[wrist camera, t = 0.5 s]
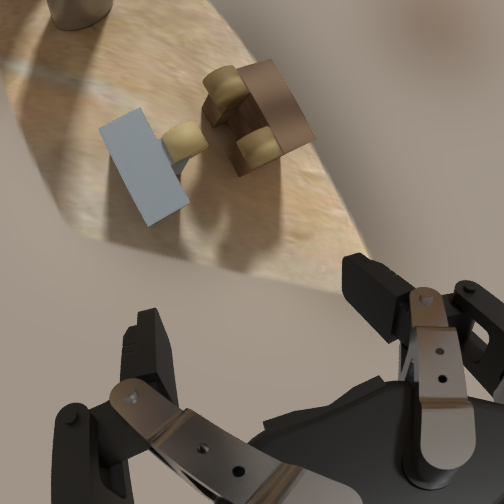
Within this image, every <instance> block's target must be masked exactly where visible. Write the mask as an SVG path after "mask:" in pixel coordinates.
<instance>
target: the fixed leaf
mask: <svg viewBox="0 0 504 504" xmlns="http://www.w3.org/2000/svg"><path fill="white" fill-rule="evenodd" d="M203 84H204V86H205V88H206V90H207V91H208V93H209V94H208V96H207V98H206V100H205V102H204V104H203V106H202V110H203V111H204V113H205V115H206V117H207V119H208V120H209V122H210V124H211V126H212V128H214V127H216V126H218V125H220V124H223V123H225V122H228V124H229V125H230V127H231V129H232V131H233V133H234V134H235V136H236V138H237V140H238V141H237V142H236V144H237V146H238V147H237V148H236V149H235V150H234V151H233V152H231V153H230V154H229V155H228V157H229V159H230V161H231V163H232V165H233V167H234V168H235V170H236V172H237V174H238V176H239V177H241V176H243V175H245V174H246V173H248V172H250V171H252V170H254V169H256V168H258V167H260V166H262V165H264V164H266V163H268V162H270V161H272V160H275V159H277V158H279V157H281V156H283V155H285V154H287V153H289V152H291V151H293V150H295V149H297V148H299V147H301V146H303V145H305V144H307V143H309V142H311V141H313V140H315V139H316V137H315V135H314V133H313V132H312V130H311V128H310V126H309V124H308V122H307V120H306V118H305V116H304V114H303V113H302V111H301V109H300V107H299V106H298V104H297V102H296V100H295V98H294V97H293V95H292V93H291V92H290V90H289V88H288V86H287V85H286V83H285V81H284V79H283V78H282V76H281V74H280V73H279V71H278V69H277V68H276V66H275V64H274V63H273V61H272V60H271V59H269V60H265V61H262V62H258V63H254V64H251V65H248V66H244V67H241V68H238V69H235V68H234V66H231V65H229V66H224V67H221V68H219V69H216V70H215V71H213V72H211V73H210V74H208V75H207V76H206V77H205V78H204V79H203Z"/></svg>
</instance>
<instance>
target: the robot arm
mask: <svg viewBox="0 0 504 504" xmlns="http://www.w3.org/2000/svg"><path fill="white" fill-rule="evenodd" d="M112 3H113V0H47V4H48V7H49V10H50V13H51V16H52V19H53V21H54V24H55V25H56V26H57V27H58V28H60V29H63V30H77V29H81V28H85V27H87V26H90V25H92V24H94V23H96V22H97V21H99V20H100V19H102V18H103V17H104V16H105V15H106V14H107V13H108V12H109V10H110V9H111V7H112ZM342 292H343V295H344V297H345V299H346V300H347V301H348V302H349V303H350V304H351V305H352V306H353V307H354V308H355V310H356V311H357V312H358V313H359V314H361V316H362V317H363V318H364V319H365V320H366V321H367V322H368V323H369V324H370V325H371V326H372V327H373V328H374V329H375V330H376V331H377V332H378V333H379V334H380V335H381V337H382V338H383V339H384V340H385V341H386V342H387V343H388V344H389V343H391V342H393V341H395V340H397V339H399V340H400V345H399V373H398V381H389V382H384V381H383V380H382V378H381V377H380V376H376V377H374V378H372V379H370V380H368V381H366V382H364V383H361V384H359V385H357V386H355V387H353V388H352V389H350V390H349V391H348V392H347V393H345V394H344V395H343V396H341V397H340V398H338V399H337V400H336V401H335V402H333V403H332V404H330V405H328V406H323V407H318V408H312V409H305V410H298V411H293V412H290V413H288V414H284V415H282V416H278V417H276V418H272V419H269V420H266V421H263V425H264V429H265V430H264V431H263V432H261V433H259V434H258V435H257V436H255V437H254V438H252V439H251V440H250V441H249V442H248V443H245V442H243V441H241V440H240V439H238V438H236V437H234V436H233V435H231V434H229V433H227V432H226V431H224V430H222V429H221V428H219V427H218V426H216V425H215V424H213V423H211V422H210V421H208V420H207V419H205V418H204V417H202V416H201V415H199V414H198V413H196V412H194V411H193V410H191V409H188V408H186V409H185V410H184V411H183V410H181V409H180V408H179V404H178V398H177V391H176V383H175V375H174V367H173V358H172V350H171V346H170V342H169V339H168V336H167V333H166V331H165V329H164V326H163V323H162V321H161V318H160V316H159V313H158V311H157V309H156V308H152V309H148V310H144V311H140V312H138V317H137V325H135V326H131V327H129V328H128V329H127V331H126V333H125V335H124V336H123V348H122V357H121V370H120V383H118V384H117V385H116V386H115V387H114V388H113V389H112V391H111V393H110V397H109V400H108V401H107V402H105V403H103V404H101V405H98V406H96V407H94V408H92V409H88V408H87V407H86V406H85V405H83V404H81V403H71V404H68V405H66V406H65V407H63V408H62V409H61V410H60V411H59V413H58V414H57V416H56V419H55V428H54V439H53V450H52V470H51V472H52V473H51V504H134V499H133V493H132V487H131V480H130V473H129V466H128V458H130V457H133V456H135V455H137V454H139V453H142V452H144V451H146V450H149V451H150V452H151V453H153V454H154V455H155V456H156V457H157V458H158V459H159V460H160V461H162V462H163V463H164V464H165V465H166V466H168V467H169V468H170V469H171V470H172V471H174V472H175V473H176V474H177V475H179V476H180V477H181V478H182V479H183V480H185V481H186V482H187V483H188V484H189V485H190V486H192V487H193V488H194V489H195V490H197V491H198V492H199V493H201V494H202V495H204V496H205V497H206V498H208V499H209V500H211V501H212V502H213V503H214V504H504V303H503V302H501V301H500V300H499V299H497V298H496V297H495V296H494V295H492V294H491V293H490V292H488V291H487V290H485V289H484V288H483V287H482V286H480V285H479V284H477V283H475V282H473V281H468V280H463V281H459V282H458V283H457V284H456V285H455V289H454V293H451V294H445V295H441V294H440V293H438V292H437V291H436V290H434V289H432V288H428V287H419V288H414V287H413V286H412V285H411V284H409V283H408V282H407V281H405V280H404V279H403V278H401V277H400V276H399V275H396V273H394V272H393V271H392V270H390V269H389V268H388V267H386V266H385V265H384V264H382V263H379V262H376V261H374V260H370V259H368V258H367V257H366V256H364V255H363V254H362V253H355V254H352V255H349V256H345V257H344V258H343V260H342ZM475 321H476V322H477V323H478V324H480V326H482V327H483V328H484V329H485V330H486V331H487V332H488V335H489V343H488V345H487V344H486V343H485V342H483V341H482V340H481V339H480V338H479V337H478V336H477V335H476V334H475V333H474V332H473V331H472V329H473V326H474V323H475ZM463 365H464V366H465V367H466V368H467V370H468V371H469V372H470V373H471V374H472V375H473V376H474V377H475V378H476V379H477V380H478V382H479V383H480V384H481V385H482V386H483V387H484V388H485V389H486V390H487V391H488V393H489V394H490V395H491V396H492V397H493V399H494V402H491V401H486V400H482V399H478V398H473V397H469V396H467V389H466V382H465V374H464V368H463Z"/></svg>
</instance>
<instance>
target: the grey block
mask: <svg viewBox="0 0 504 504" xmlns="http://www.w3.org/2000/svg"><path fill="white" fill-rule="evenodd" d="M99 132H100V134H101V136H102V138H103V140H104V142H105V144H106V146H107V149H108V151H109V153H110V155H111V157H112V159H113V161H114V163H115V165H116V167H117V169H118V171H119V173H120V175H121V177H122V179H123V181H124V183H125V185H126V187H127V189H128V191H129V193H130V194H131V196H132V198H133V200H134V202H135V204H136V206H137V208H138V210H139V211H140V213H141V215H142V217H143V219H144V221H145V222H146V224H147V226H148V227H150V226H152V225H154V224H155V223H157V222H159V221H161V220H162V219H164V218H166V217H167V216H169V215H171V214H173V213H174V212H176V211H178V210H180V209H181V208H183V207H184V206H186V205H187V204H189V203H190V201H189V199H188V197H187V195H186V194H185V192H184V190H183V188H182V186H181V184H180V182H179V180H178V179H177V177H176V175H178V174H180V173H181V172H182V170H183V169H184V167H185V165H186V164H187V162H188V160H189V159H190V158H192V157H194V156H196V155H197V154H199V153H201V152H202V151H204V150H205V149H206V148H208V147H209V145H208V143H207V141H206V139H205V137H204V136H203V134H202V132H201V130H200V128H199V126H198V124H197V123H196V121H195V120H190V121H187V122H184V123H182V124H179V125H177V126H176V127H174V128H172V129H171V130H169V131H168V132H167V133H165V134H164V135H163V136H162V138H161V139H159V140H157V139H156V137H155V135H154V133H153V131H152V129H151V127H150V125H149V123H148V121H147V119H146V117H145V115H144V114H143V112H142V110H141V108H138V109H136V110H134V111H131V112H129V113H128V114H126V115H124V116H122V117H120V118H118V119H116V120H114V121H112V122H110V123H108V124H107V125H105V126H103V127H101V128H99Z"/></svg>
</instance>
